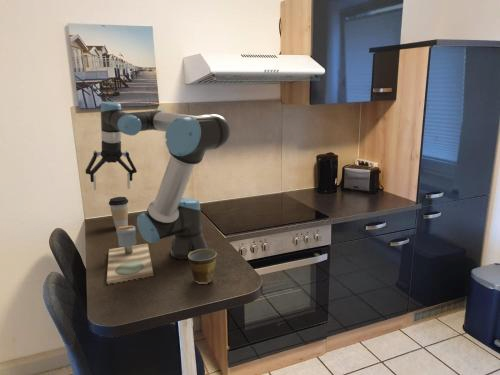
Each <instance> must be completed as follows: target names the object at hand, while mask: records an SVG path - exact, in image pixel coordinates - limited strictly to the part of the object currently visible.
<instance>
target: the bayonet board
mask: <svg viewBox="0 0 500 375" xmlns="http://www.w3.org/2000/svg"><path fill="white" fill-rule="evenodd" d="M148 243H149V242H148ZM148 243H147V242H146V243H142V244H141V243H140V244H135V245H133V246H129V247H121V246H120V247H116V248H115V247H114V248H108V256H107V257H108V258H107V260H108V261H107V271H106V272H107V274H106V285H107V284H108V285H111V284H110V283H114V284H118V283H117V282H120V283H124V282H123V281H125V282H129V281H128V280H131V281H134V280H133V279H136V280H139V279H138V278H142V279H144V278H143V277H148V276H153V277H154V270H153V266H152V265H153V264H152V260H151V253H150V249H149V244H148ZM148 278H149V277H148Z"/></svg>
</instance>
